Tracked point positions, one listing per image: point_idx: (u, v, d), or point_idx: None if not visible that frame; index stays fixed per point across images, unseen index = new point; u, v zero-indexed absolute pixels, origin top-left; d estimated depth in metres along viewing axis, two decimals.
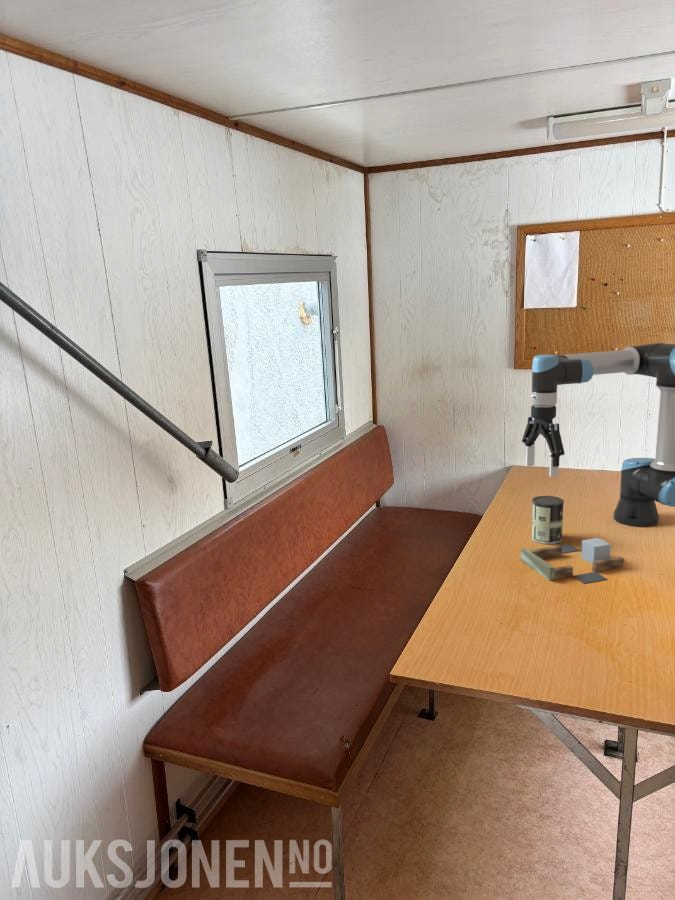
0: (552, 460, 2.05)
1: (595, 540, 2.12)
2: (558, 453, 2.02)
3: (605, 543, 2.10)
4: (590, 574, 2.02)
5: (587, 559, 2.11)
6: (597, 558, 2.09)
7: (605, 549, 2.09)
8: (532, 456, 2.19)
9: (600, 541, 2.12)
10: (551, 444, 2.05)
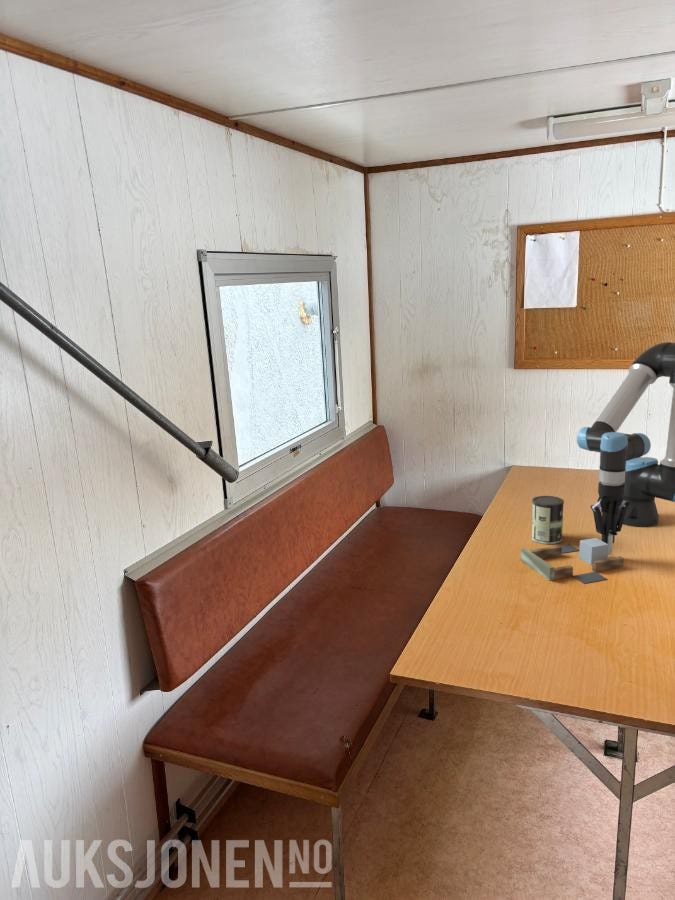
0: None
1: (593, 540, 2.12)
2: (597, 530, 2.11)
3: (603, 543, 2.09)
4: (590, 574, 2.02)
5: (585, 559, 2.11)
6: (595, 558, 2.08)
7: (602, 549, 2.08)
8: None
9: (598, 541, 2.11)
10: None
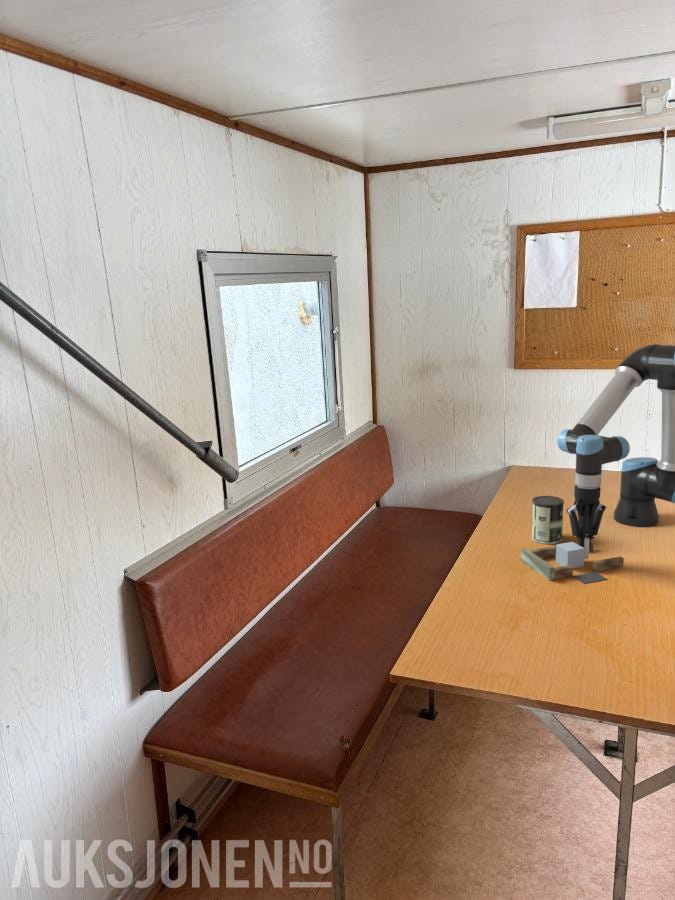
0: None
1: (569, 544, 2.10)
2: (573, 533, 2.09)
3: (579, 547, 2.07)
4: (590, 574, 2.02)
5: (561, 563, 2.09)
6: (571, 562, 2.06)
7: (579, 553, 2.06)
8: (585, 548, 2.09)
9: (574, 545, 2.09)
10: (578, 526, 2.08)
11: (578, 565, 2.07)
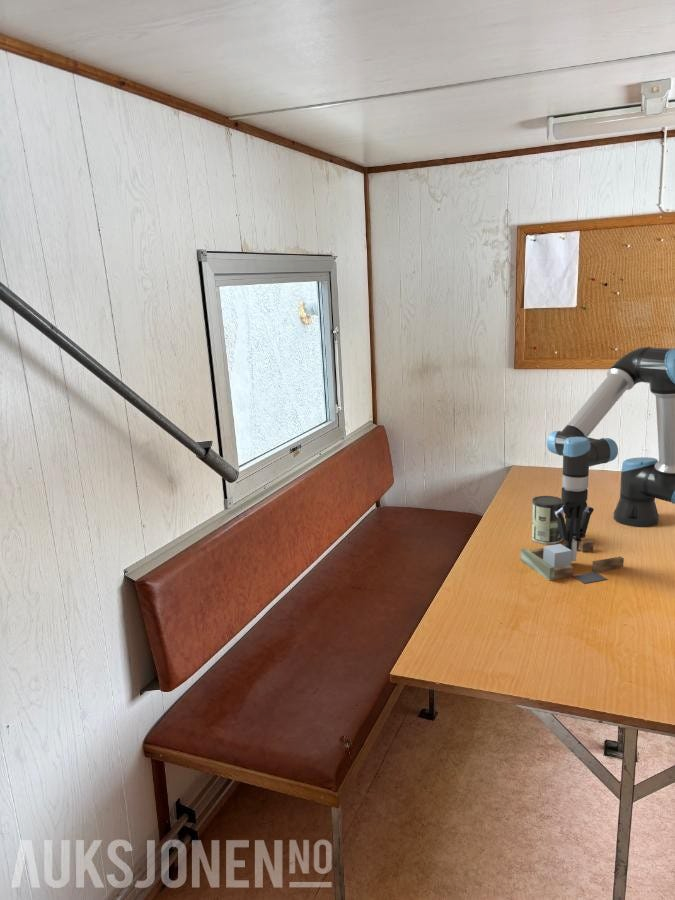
0: None
1: (556, 546, 2.09)
2: (560, 536, 2.08)
3: (566, 549, 2.06)
4: (590, 574, 2.02)
5: None
6: (558, 565, 2.05)
7: (566, 555, 2.05)
8: None
9: (562, 547, 2.08)
10: (566, 528, 2.07)
11: None
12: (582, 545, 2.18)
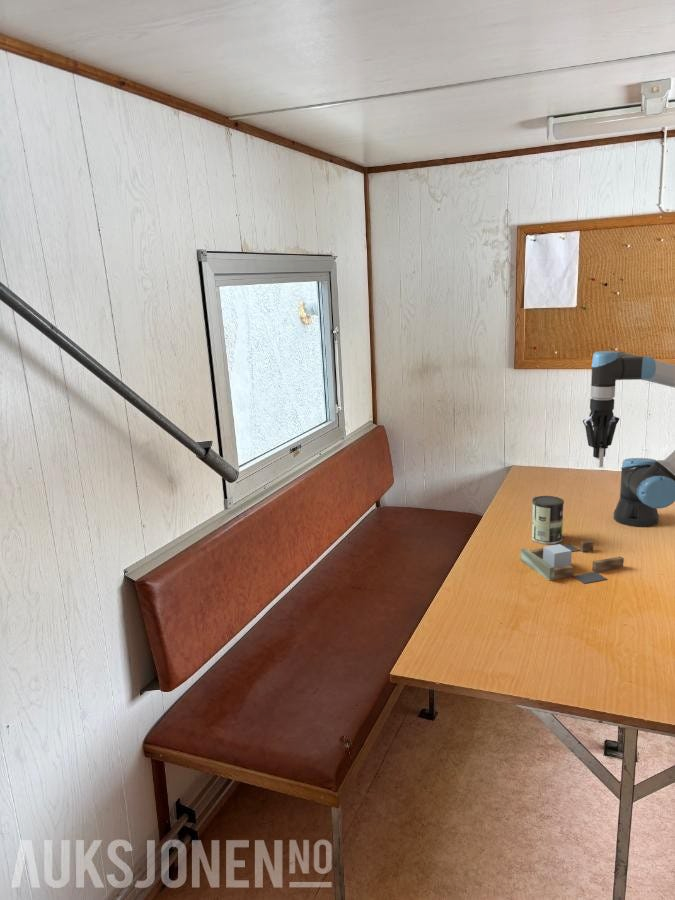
0: None
1: (556, 546, 2.09)
2: (589, 444, 2.26)
3: (566, 550, 2.06)
4: (590, 574, 2.02)
5: None
6: (558, 565, 2.05)
7: (565, 556, 2.05)
8: None
9: (561, 547, 2.08)
10: (594, 436, 2.26)
11: None
12: (582, 545, 2.18)
